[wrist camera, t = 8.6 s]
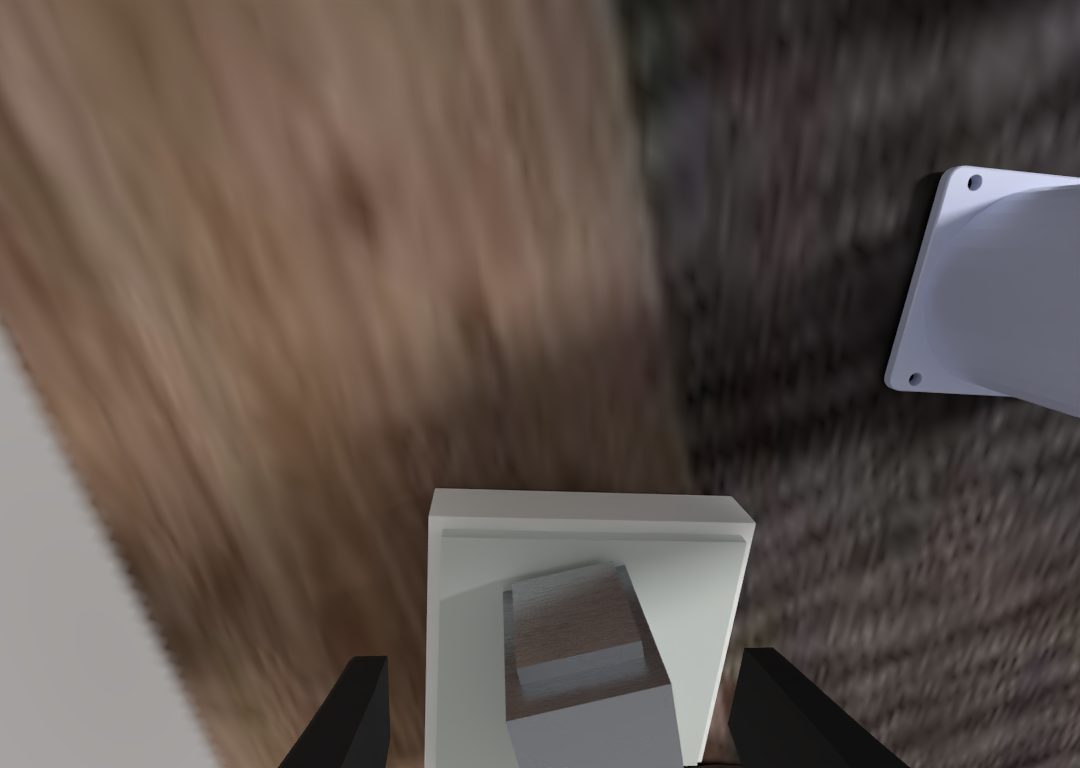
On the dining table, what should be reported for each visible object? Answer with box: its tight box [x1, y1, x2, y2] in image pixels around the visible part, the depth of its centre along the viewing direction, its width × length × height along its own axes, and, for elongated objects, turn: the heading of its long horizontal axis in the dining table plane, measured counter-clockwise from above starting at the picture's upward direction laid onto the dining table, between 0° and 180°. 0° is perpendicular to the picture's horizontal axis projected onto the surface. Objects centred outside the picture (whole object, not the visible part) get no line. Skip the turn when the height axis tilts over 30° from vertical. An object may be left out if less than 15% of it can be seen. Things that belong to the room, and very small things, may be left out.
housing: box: [503, 561, 684, 768], centre depth 17 cm, size 9×4×5 cm, turn 12°
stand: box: [424, 488, 756, 768], centre depth 20 cm, size 12×12×2 cm
